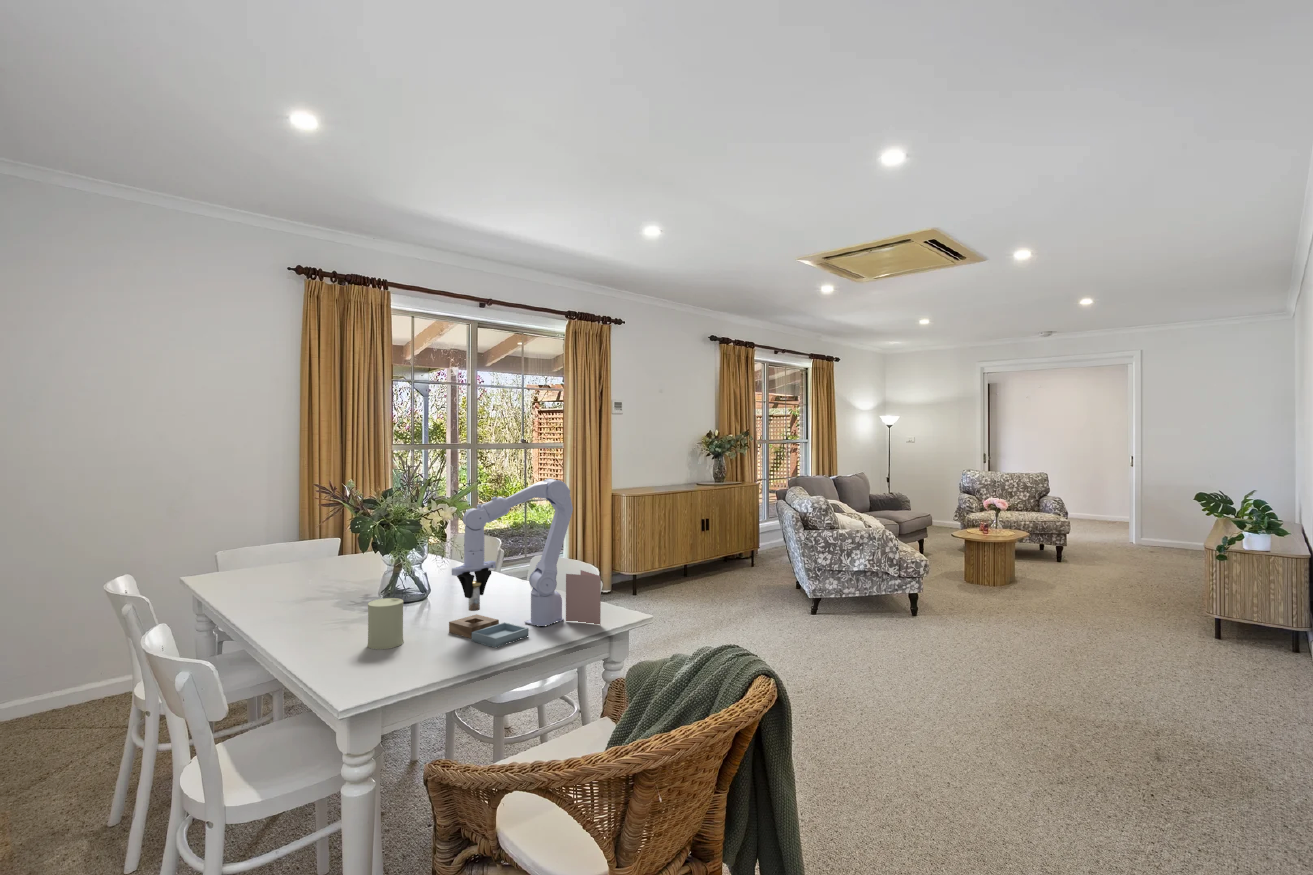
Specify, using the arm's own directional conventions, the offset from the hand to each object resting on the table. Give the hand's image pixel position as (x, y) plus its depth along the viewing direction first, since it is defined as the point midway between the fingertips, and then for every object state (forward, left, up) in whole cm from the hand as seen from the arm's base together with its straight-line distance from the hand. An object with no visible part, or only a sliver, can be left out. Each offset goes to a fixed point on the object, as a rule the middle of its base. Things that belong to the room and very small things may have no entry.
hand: (474, 596), depth 191 cm
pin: (0, 0, -4) cm, 4 cm away
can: (+22, -10, -10) cm, 26 cm away
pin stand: (0, 0, -10) cm, 10 cm away
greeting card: (-25, +20, -10) cm, 34 cm away
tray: (+1, +12, -10) cm, 16 cm away
